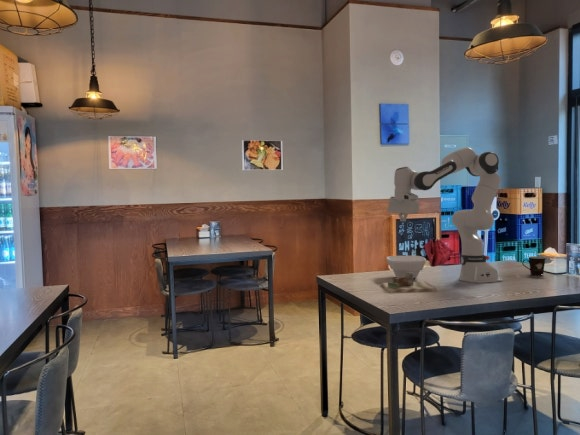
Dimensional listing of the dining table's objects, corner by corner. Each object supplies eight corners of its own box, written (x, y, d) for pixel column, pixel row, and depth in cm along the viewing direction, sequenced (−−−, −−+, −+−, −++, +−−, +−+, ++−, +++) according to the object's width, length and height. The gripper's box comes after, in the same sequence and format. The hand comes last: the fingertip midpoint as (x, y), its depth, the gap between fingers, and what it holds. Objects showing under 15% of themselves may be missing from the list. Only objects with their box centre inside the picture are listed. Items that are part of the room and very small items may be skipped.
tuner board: (425, 284, 252) (425, 276, 252) (436, 291, 234) (436, 283, 234) (381, 285, 251) (381, 278, 251) (389, 292, 233) (389, 284, 233)
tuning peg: (409, 283, 246) (409, 272, 246) (415, 284, 243) (414, 273, 242) (392, 286, 241) (391, 274, 240) (397, 287, 237) (397, 275, 237)
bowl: (429, 281, 260) (429, 260, 259) (389, 281, 262) (389, 261, 261) (421, 274, 282) (421, 255, 282) (384, 274, 284) (384, 255, 283)
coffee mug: (545, 273, 273) (545, 256, 273) (544, 276, 266) (544, 258, 266) (523, 272, 280) (523, 255, 279) (522, 274, 272) (522, 257, 272)
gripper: (385, 196, 266) (385, 220, 267) (412, 196, 249) (412, 222, 250) (393, 196, 269) (393, 220, 270) (420, 196, 252) (421, 221, 253)
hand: (403, 221), depth 260 cm, fingers closed
